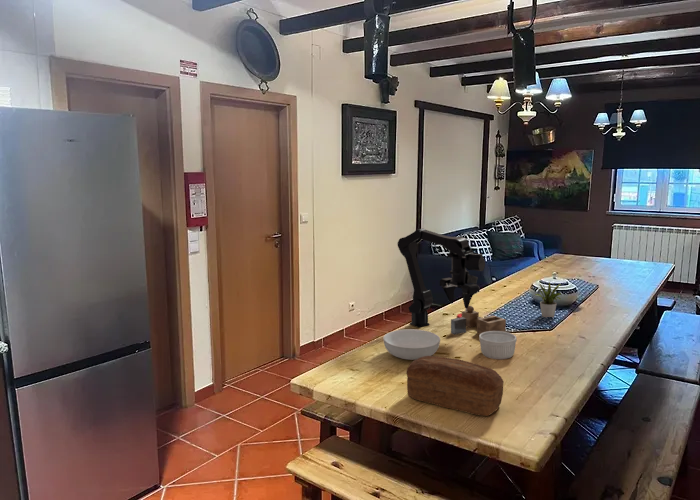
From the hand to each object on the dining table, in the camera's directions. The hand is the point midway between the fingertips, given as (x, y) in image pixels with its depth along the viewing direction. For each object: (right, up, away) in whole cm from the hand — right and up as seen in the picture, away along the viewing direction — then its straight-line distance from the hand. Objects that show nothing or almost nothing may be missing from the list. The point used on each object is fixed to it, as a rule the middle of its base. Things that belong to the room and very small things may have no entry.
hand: (459, 305), depth 218 cm
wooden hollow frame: (+10, -11, +5) cm, 16 cm away
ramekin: (+9, -16, -24) cm, 30 cm away
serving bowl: (-22, -16, -22) cm, 35 cm away
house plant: (+43, -7, +21) cm, 48 cm away
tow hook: (+8, -8, +23) cm, 25 cm away
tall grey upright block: (0, -11, +2) cm, 12 cm away
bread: (-14, -22, -61) cm, 66 cm away
